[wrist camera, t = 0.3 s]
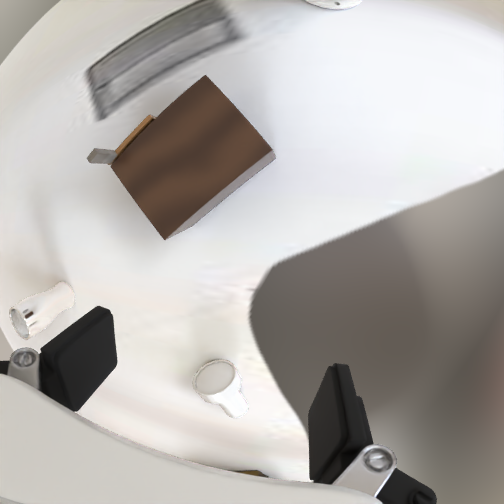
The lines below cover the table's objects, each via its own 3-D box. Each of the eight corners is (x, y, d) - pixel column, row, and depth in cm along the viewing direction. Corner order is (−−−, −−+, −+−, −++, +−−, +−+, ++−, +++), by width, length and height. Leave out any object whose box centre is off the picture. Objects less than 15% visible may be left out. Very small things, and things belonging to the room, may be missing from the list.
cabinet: (146, 167, 39) (110, 166, 30) (224, 97, 35) (205, 74, 26) (192, 226, 41) (164, 240, 31) (276, 157, 37) (272, 149, 27)
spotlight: (240, 356, 44) (226, 394, 37) (261, 392, 49) (251, 427, 42) (200, 357, 47) (184, 391, 40) (225, 392, 51) (213, 423, 45)
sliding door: (140, 162, 39) (84, 160, 26) (178, 126, 37) (131, 106, 24) (143, 166, 39) (88, 165, 26) (181, 130, 37) (135, 111, 24)
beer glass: (72, 315, 49) (28, 347, 35) (53, 293, 49) (7, 320, 35) (81, 295, 48) (32, 327, 33) (60, 272, 47) (10, 298, 33)
